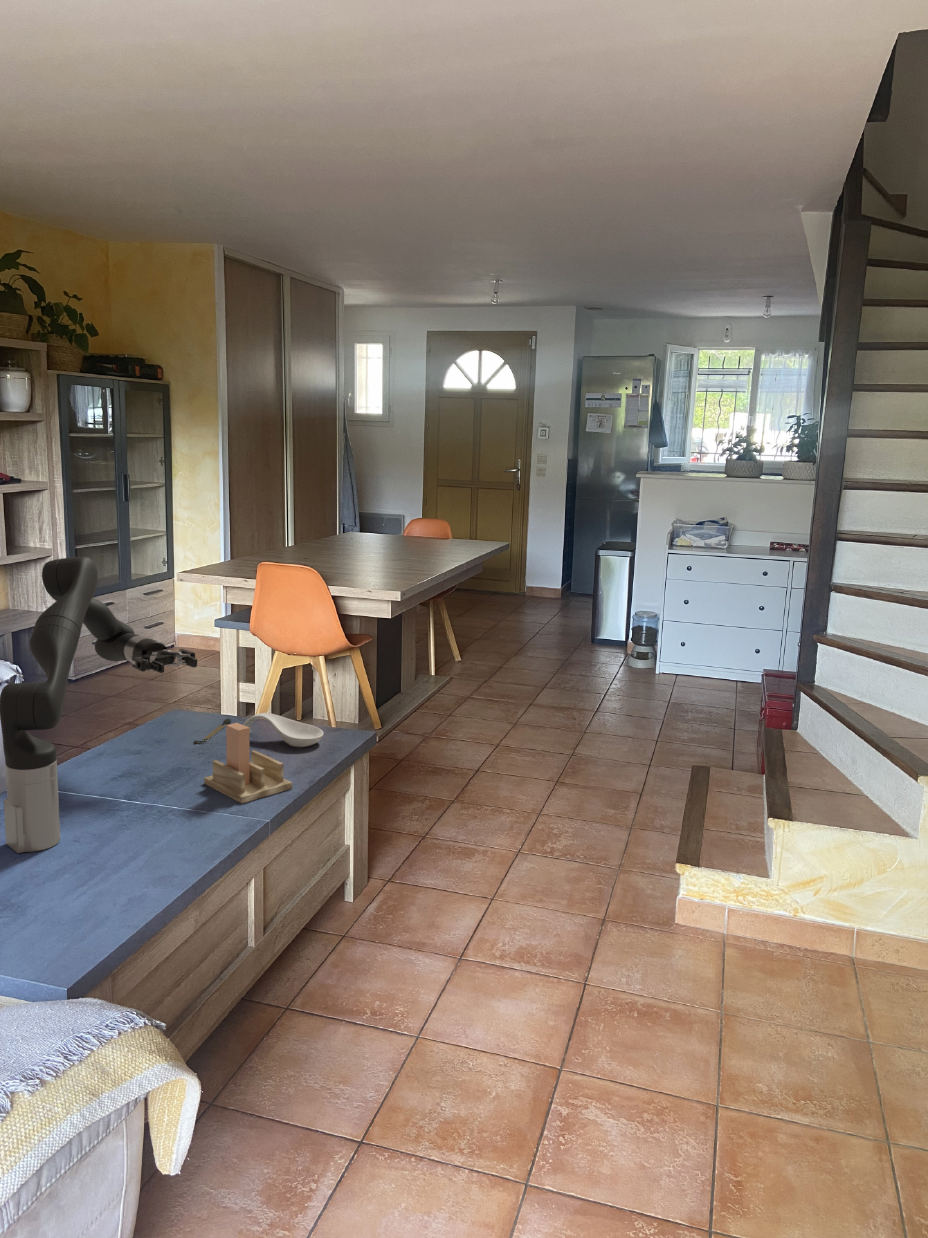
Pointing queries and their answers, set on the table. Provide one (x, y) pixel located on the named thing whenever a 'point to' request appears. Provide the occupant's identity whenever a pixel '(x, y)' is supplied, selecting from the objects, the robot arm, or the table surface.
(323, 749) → the table surface
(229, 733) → the clay slat
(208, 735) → the tactical tomahawk
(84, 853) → the table surface
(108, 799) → the table surface
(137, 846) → the table surface
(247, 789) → the wooden slotted stand
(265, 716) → the spoon rest
